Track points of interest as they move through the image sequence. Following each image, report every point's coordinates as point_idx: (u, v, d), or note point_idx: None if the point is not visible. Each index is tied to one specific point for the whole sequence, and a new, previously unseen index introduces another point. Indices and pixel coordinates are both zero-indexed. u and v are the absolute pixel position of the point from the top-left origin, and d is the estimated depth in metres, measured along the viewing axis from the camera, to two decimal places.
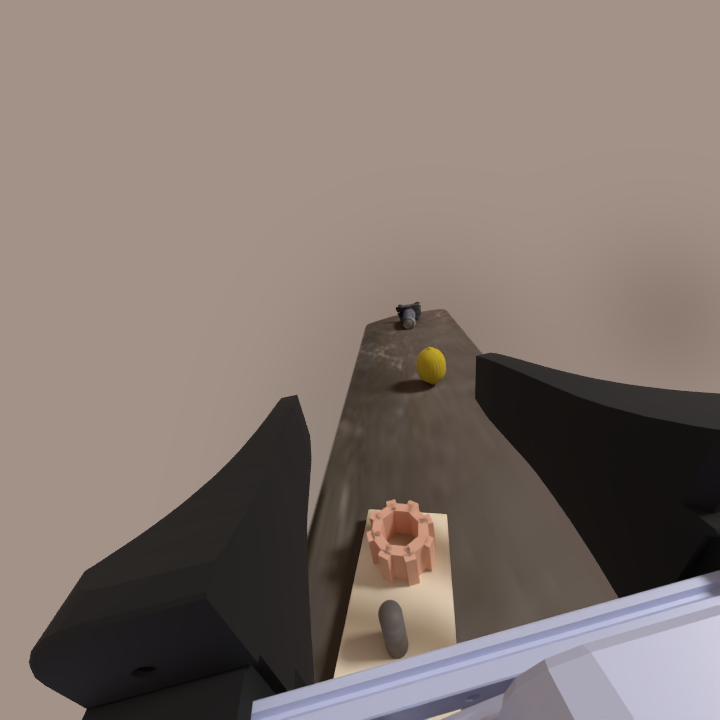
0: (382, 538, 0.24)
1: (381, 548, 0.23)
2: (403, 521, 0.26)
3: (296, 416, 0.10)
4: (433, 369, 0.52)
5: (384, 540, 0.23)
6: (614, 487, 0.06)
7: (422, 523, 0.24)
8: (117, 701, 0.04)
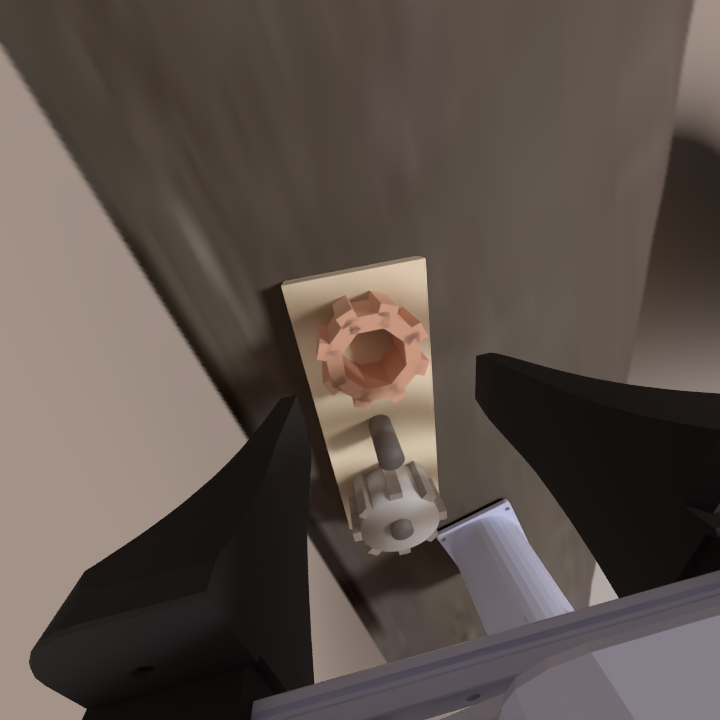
0: (352, 384, 0.15)
1: (356, 398, 0.15)
2: None
3: (296, 416, 0.10)
4: None
5: (357, 386, 0.15)
6: (614, 487, 0.06)
7: (411, 343, 0.14)
8: (117, 701, 0.04)
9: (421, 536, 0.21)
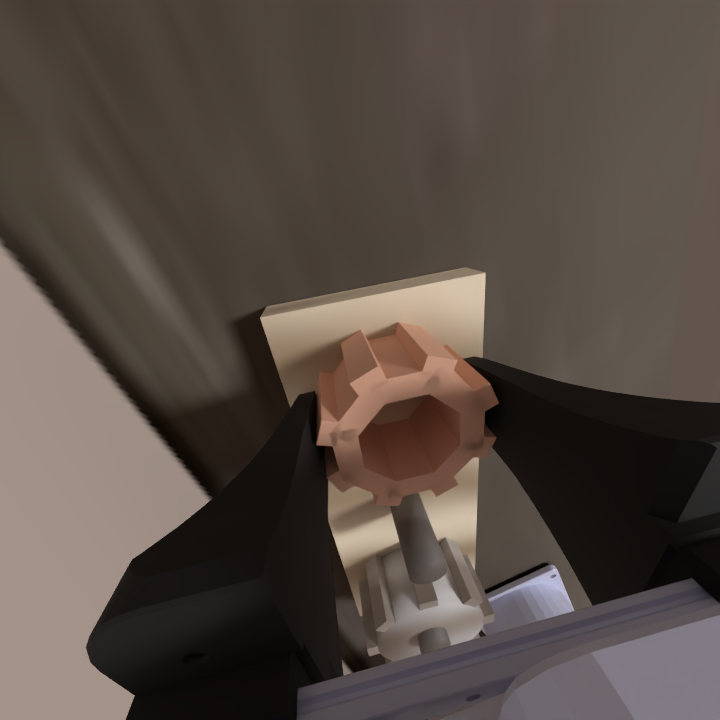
0: (374, 476, 0.09)
1: (378, 493, 0.10)
2: None
3: (315, 412, 0.10)
4: None
5: (380, 478, 0.09)
6: (586, 494, 0.06)
7: (471, 413, 0.09)
8: (164, 688, 0.04)
9: (457, 642, 0.16)
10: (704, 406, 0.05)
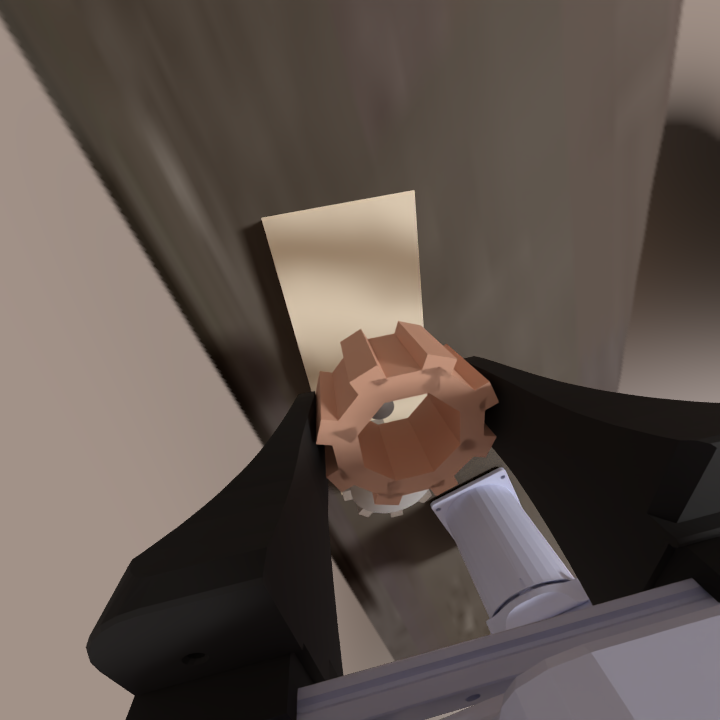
0: (374, 475, 0.09)
1: (378, 492, 0.10)
2: None
3: (315, 412, 0.10)
4: None
5: (380, 478, 0.09)
6: (585, 494, 0.06)
7: (470, 413, 0.09)
8: (164, 688, 0.04)
9: (413, 496, 0.20)
10: (704, 406, 0.05)
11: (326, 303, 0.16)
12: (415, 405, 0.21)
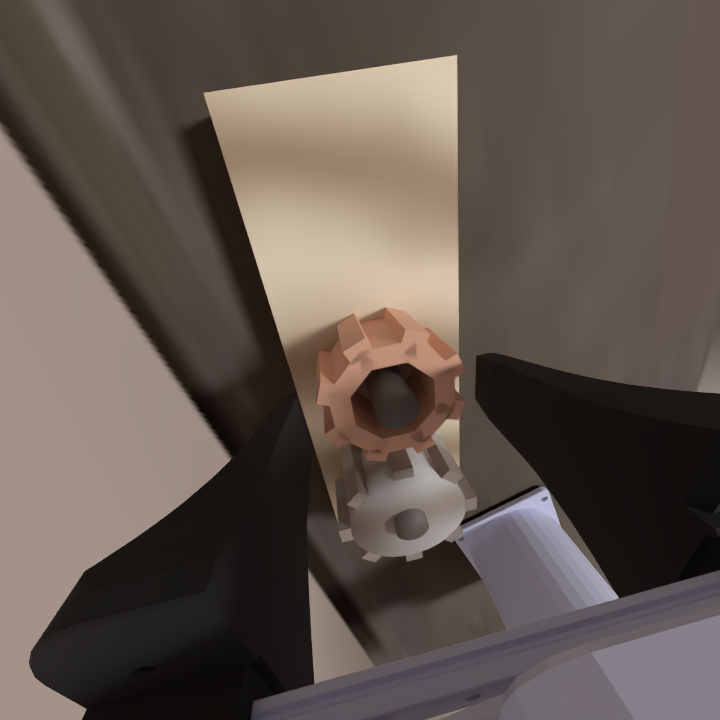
0: (364, 434, 0.11)
1: (368, 449, 0.11)
2: None
3: (296, 416, 0.10)
4: None
5: (369, 436, 0.11)
6: (614, 487, 0.06)
7: (443, 380, 0.11)
8: (117, 701, 0.04)
9: (438, 534, 0.15)
10: None
11: (315, 250, 0.11)
12: None
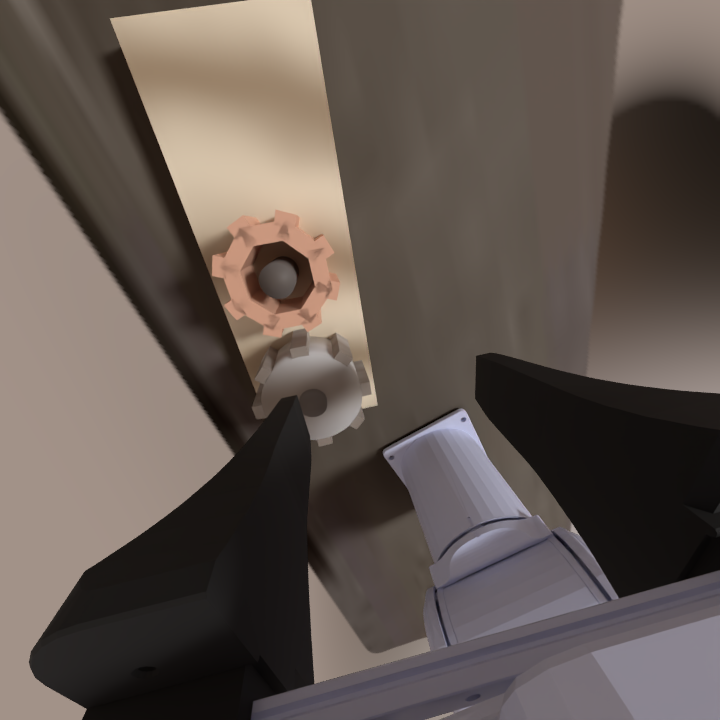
0: (257, 308, 0.14)
1: (263, 324, 0.14)
2: None
3: (296, 416, 0.10)
4: None
5: (262, 310, 0.14)
6: (614, 487, 0.06)
7: (316, 260, 0.13)
8: (117, 701, 0.04)
9: (342, 419, 0.17)
10: None
11: (215, 157, 0.13)
12: (346, 312, 0.17)
